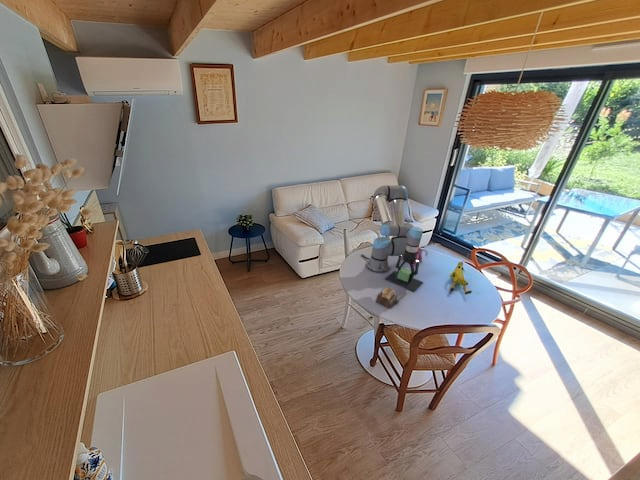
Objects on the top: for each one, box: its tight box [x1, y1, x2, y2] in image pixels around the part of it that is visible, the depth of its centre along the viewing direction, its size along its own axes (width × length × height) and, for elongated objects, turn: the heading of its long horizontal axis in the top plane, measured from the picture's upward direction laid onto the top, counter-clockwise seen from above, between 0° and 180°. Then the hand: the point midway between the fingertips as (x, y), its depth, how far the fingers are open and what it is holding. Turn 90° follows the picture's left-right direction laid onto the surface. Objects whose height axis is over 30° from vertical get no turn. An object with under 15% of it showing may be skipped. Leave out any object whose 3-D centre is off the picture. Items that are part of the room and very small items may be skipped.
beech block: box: [381, 286, 395, 300], centre depth 174 cm, size 5×5×4 cm
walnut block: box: [375, 291, 398, 309], centre depth 177 cm, size 9×9×4 cm
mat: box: [384, 270, 423, 292], centre depth 196 cm, size 20×14×1 cm
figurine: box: [449, 261, 472, 295], centre depth 192 cm, size 11×11×30 cm
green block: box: [397, 266, 411, 282], centre depth 194 cm, size 7×7×6 cm
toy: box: [406, 219, 429, 265], centre depth 215 cm, size 9×26×30 cm, turn 34°
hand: (404, 279), depth 196 cm, fingers closed on green block, 7 cm apart
